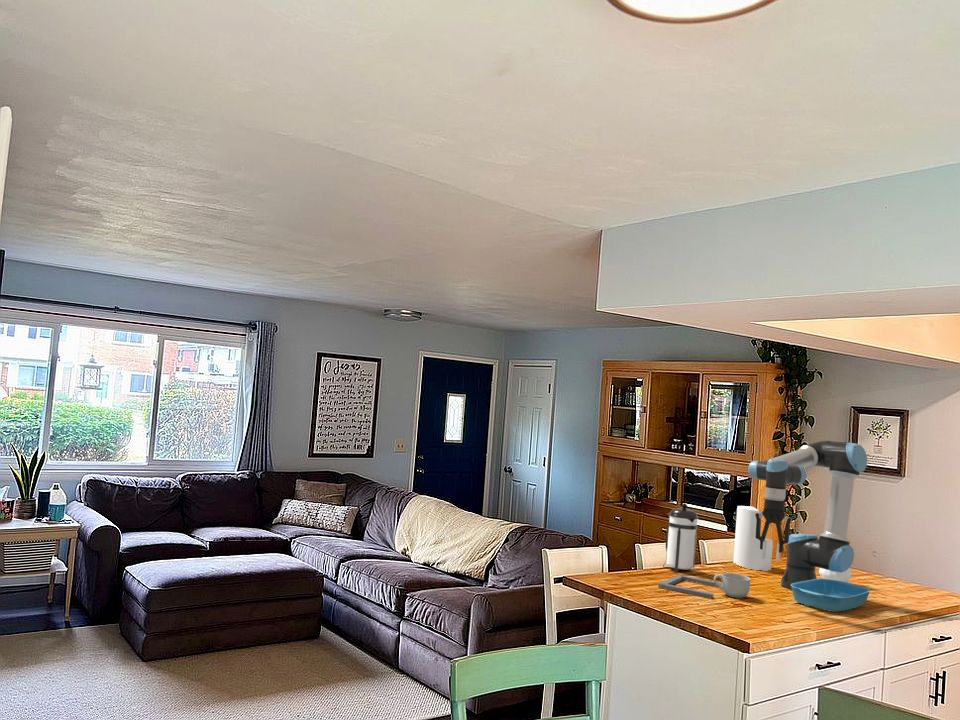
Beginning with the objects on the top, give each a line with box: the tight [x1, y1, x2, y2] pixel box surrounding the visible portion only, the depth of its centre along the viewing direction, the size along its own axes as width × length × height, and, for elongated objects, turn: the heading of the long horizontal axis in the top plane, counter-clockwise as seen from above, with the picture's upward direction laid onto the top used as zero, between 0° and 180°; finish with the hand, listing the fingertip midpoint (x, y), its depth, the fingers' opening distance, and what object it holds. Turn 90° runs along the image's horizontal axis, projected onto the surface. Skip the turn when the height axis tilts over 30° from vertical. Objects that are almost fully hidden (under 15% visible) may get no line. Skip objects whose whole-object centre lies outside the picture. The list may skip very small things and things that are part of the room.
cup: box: [818, 567, 852, 583], centre depth 356 cm, size 13×13×14 cm
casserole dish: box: [791, 578, 871, 612], centre depth 310 cm, size 37×22×7 cm, turn 132°
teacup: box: [712, 572, 751, 599], centre depth 310 cm, size 14×11×8 cm
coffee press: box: [662, 502, 699, 573], centre depth 354 cm, size 17×16×30 cm
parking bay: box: [657, 574, 722, 599], centre depth 317 cm, size 21×26×2 cm
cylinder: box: [732, 505, 774, 572], centre depth 378 cm, size 17×17×28 cm
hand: (770, 559), depth 303 cm, fingers open, 4 cm apart
